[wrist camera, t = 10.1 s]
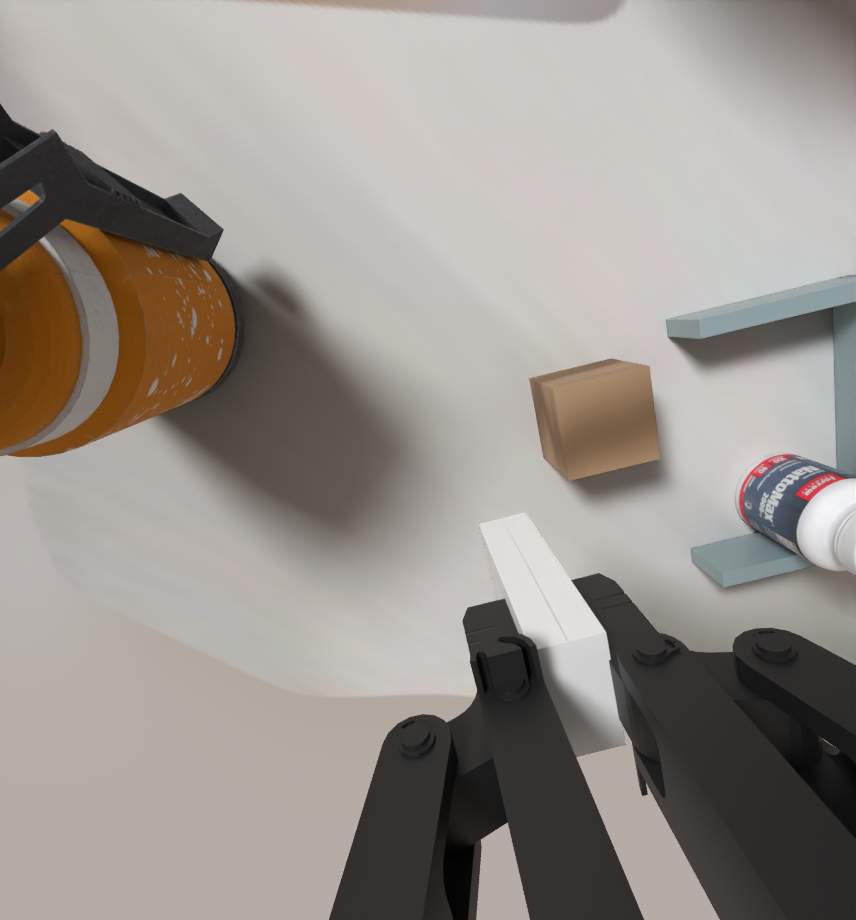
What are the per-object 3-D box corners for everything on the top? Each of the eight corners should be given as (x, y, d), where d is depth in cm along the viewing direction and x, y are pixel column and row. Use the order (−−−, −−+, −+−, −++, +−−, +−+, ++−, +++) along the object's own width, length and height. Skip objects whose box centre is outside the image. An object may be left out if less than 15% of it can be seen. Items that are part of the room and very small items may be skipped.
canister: (47, 329, 29) (-617, 351, 10) (164, 163, 28) (-366, -193, 8) (186, 432, 31) (-148, 618, 12) (303, 283, 30) (133, 220, 10)
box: (666, 319, 31) (699, 319, 28) (848, 275, 31) (903, 270, 28) (692, 562, 36) (723, 587, 32) (853, 523, 36) (901, 544, 32)
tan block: (528, 378, 32) (553, 389, 27) (610, 358, 32) (649, 366, 27) (543, 457, 33) (568, 481, 28) (621, 438, 33) (660, 459, 28)
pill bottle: (769, 436, 34) (897, 476, 25) (827, 477, 35) (970, 529, 26) (715, 504, 35) (821, 565, 26) (774, 542, 36) (895, 614, 27)
